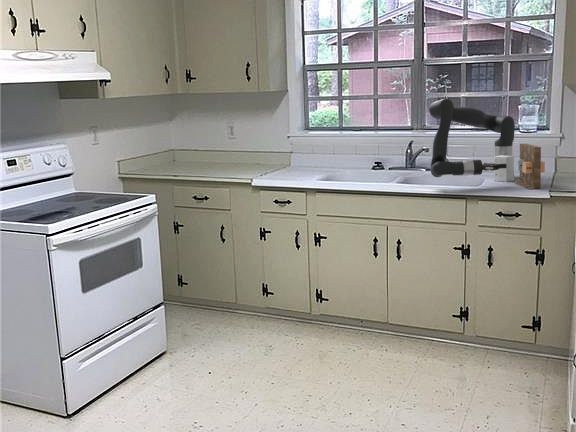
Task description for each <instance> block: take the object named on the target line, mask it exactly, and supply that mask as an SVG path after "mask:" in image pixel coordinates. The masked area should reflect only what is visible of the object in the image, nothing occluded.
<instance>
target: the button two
mask: <svg viewBox="0 0 576 432" xmlns="http://www.w3.org/2000/svg"><path fill="white" fill-rule="evenodd" d="M545 164H546V162H545V161H543V160H541V173H545V172H546V169H545V168H546V165H545ZM522 172H523V173H533V162H531V161H530V162H522Z"/></svg>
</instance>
